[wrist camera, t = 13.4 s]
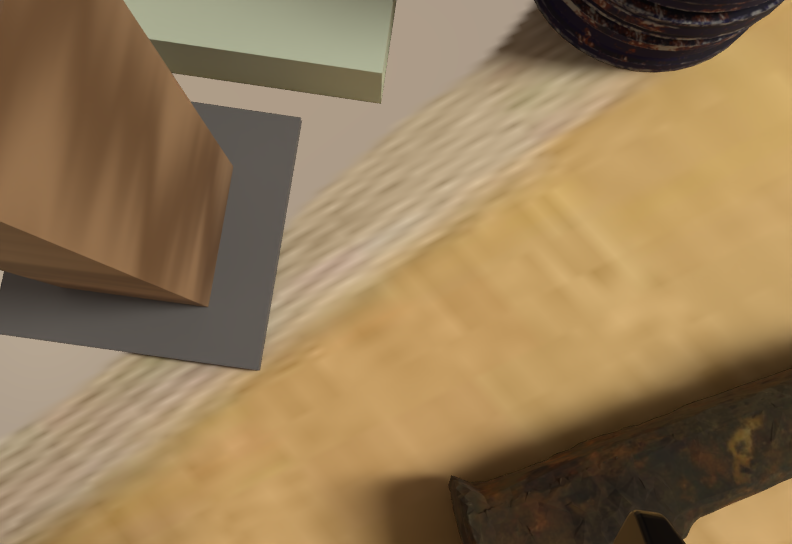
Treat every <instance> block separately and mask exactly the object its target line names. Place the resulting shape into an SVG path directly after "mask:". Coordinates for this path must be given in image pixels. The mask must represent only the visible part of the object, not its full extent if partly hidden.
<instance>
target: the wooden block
mask: <svg viewBox="0 0 792 544" xmlns="http://www.w3.org/2000/svg"><path fill="white" fill-rule="evenodd" d="M232 171H233V165H232V164H231V162H230V161H229V159H228V158H227V156H226V155H225V153H224V152H223V150H222V149H221V147H220V146H219V144H218V143H217V141H216V140H215V138H214V137H213V135H212V134H211V132H210V131H209V129H208V128H207V126H206V125H205V123H204V122H203V120H202V119H201V117H200V115H199V114H198V112H197V111H196V109H195V108H194V106H193V105H192V103H191V102H190V100H189V99H188V97H187V96H186V94H185V93H184V91H183V90H182V88H181V87H180V85H179V84H178V82H177V81H176V79H175V78H174V76H173V75H172V73H171V72H170V70H169V69H168V67H167V66H166V64H165V63H164V61H163V60H162V58H161V56H160V55H159V53H158V52H157V50H156V49H155V47H154V46H153V44H152V43H151V41H150V40H149V38H148V37H147V35H146V34H145V32H144V31H143V29H142V28H141V26H140V25H139V23H138V22H137V20H136V19H135V17H134V16H133V14H132V13H131V11H130V10H129V8H128V7H127V5H126V4H125V2H124V1H123V0H0V270H2V271H5V272H9V273H12V274H16V275H19V276H23V277H27V278H30V279H34V280H37V281H41V282H44V283H48V284H51V285H55V286H59V287H63V288H71V289H78V290H85V291H93V292H100V293H107V294H115V295H122V296H129V297H137V298H144V299H151V300H159V301H166V302H174V303H181V304H188V305H196V306H203V307H208V306H209V301H210V295H211V289H212V284H213V278H214V273H215V267H216V261H217V256H218V250H219V244H220V239H221V233H222V228H223V222H224V216H225V211H226V205H227V199H228V194H229V188H230V182H231V177H232Z"/></svg>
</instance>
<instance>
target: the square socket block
mask: <svg viewBox="0 0 792 544" xmlns="http://www.w3.org/2000/svg"><path fill="white" fill-rule="evenodd" d="M123 1H124V2H125V4H126V5H127V7H128V8H129V10H130V11H131V13H132V14H133V16H134V17H135V19H136V20H137V22H138V23H139V25H140V26H141V28H142V29H143V31H144V32H145V34H146V35H147V37H148V38H149V40H150V41H151V43H152V44H153V46H154V47H155V49H156V50H157V52H158V53H159V55H160V56H161V58H162V60H163V61H164V63H165V64H166V66H167V67H168V69H169V70H170V72H171V73H176V74H183V75H189V76H197V77H203V78H210V79H217V80H224V81H231V82H237V83H244V84H251V85H258V86H265V87H271V88H278V89H285V90H291V91H299V92H305V93H312V94H319V95H325V96H332V97H339V98H346V99H353V100H360V101H366V102H373V103H380V104H381V100H382V92H383V87H384V79H385V73H386V66H387V59H388V53H389V46H390V40H391V33H392V26H393V20H394V13H395V6H396V0H123Z"/></svg>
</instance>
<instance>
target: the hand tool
mask: <svg viewBox="0 0 792 544" xmlns="http://www.w3.org/2000/svg"><path fill="white" fill-rule="evenodd" d="M790 478H792V368H791V369H788V370H785V371H782V372H780V373H777V374H774V375H771V376H768V377H765V378H763V379H760V380H757V381H754V382H750V383H747V384H744V385H742V386H739V387H736V388H734V389H731V390H728V391H726V392H723V393H720V394H718V395H715V396H712V397H709V398H705V399H702V400H699V401H696V402H693V403H691V404H688V405H686V406H683V407H681V408H679V409H677V410H675V411H673V412H671V413H669V414H667V415H664V416H661V417H658V418H655V419H652V420H649V421H647V422H645V423H643V424H640V425H637V426H631V427H625V428H623V429H621V430H620V431H617V432H613V433H609V434H605V435H602V436H599V437H596V438H593V439H590V440H588V441H585V442H582V443H580V444H578V445H577V446H575V447H573V448H572V449H570V450H567V451H564V452H561V453H558V454H555V455H554V456H552V457H551V458H549V459H548V460H546V461H543V462H540V463H537V464H534V465H531V466H529V467H526V468H524V469H522V470H519V471H517V472H514V473H510V474H507V475H504V476H501V477H498V478H495V479H493V480H490V481H485V482H471V483H470V482H467V481H465V480H462V479H460V478H458V477H455V476H451V478H450V481H449V485H448V486H449V489H450V491H451V498H452V504H453V510H454V514H455V518H456V521H457V525H458V529H459V533H460V536H461V540H462V543H463V544H613V542H614V540H615V538H616V536H617V534H618V532H619V531H620V529H621V527H622V525H623V524H624V522H625V520H626V518H627V516H628V515H629V513H630V512H632V511H634V510H641V511H649V512H656V513H659V514H661V515H663V516H664V517H665V518H667V520H668V521H669V522H670V523H671V525H672V526H673V527H674V529H675V530H676V531H677V533H678V534H679V535H680V537H681V538H682V539H684V538H686V537H687V535H688V533H689V530H690V528H691V526H692V525H693V523H694V522H695V521H696V520H697V519H698V518H700V517H702V516H705V515H707V514H710V513H712V512H714V511H716V510H719V509H721V508H723V507H725V506H728V505H730V504H732V503H734V502H737V501H739V500H742V499H744V498H747V497H750V496H752V495H754V494H757V493H759V492H761V491H764V490H766V489H768V488H770V487H772V486H774V485H776V484H778V483H780V482H783V481H785V480H788V479H790Z"/></svg>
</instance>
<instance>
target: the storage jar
mask: <svg viewBox="0 0 792 544" xmlns="http://www.w3.org/2000/svg"><path fill="white" fill-rule="evenodd" d="M534 1H535V3H536V5H537V7H538V8H539V10H540V11H541V13H542V14H543V15H544V17H545V18H546V20H547V21H548V22H549V24H550V25H551V26H552V27H553V28H554V29H555V30H556V31H557V32H558V33H559V34H560V35H561V36H562V37H563V38H564V39H566V40H567V41H568V42H569V43H571V44H572V45H573V46H575V47H576V48H577V49H579V50H580V51H582V52H584V53H586V54H588V55H589V56H591V57H593V58H595V59H597V60H599V61H602V62H605V63H607V64H610V65H613V66H615V67H619V68H624V69H629V70H633V71H643V72H664V71H675V70H679V69H683V68H687V67H691V66H695V65H697V64H699V63H702V62H704V61H706V60H709V59H711V58H713V57H714V56H716V55H717V54H719V53H721V52H722V51H724V50H725V49H727V48H728V47H729V46H730V45H731V44H732V43H733V42H734V41H735V40H737V39H738V38H739V37H740V36H741V35H742V34H743V33H744V32H745V31H746V30H748V28H749V27H751V26H752V25H753V24H754V23H756V22H757V21H759V20H760V19H762V18H764V17H765V16H767V15H768V14H770V13H771V12H772V11H773V10H774V9H775V8H776V7H778V6H779V5H780V4H781V3H782V2H783V1H784V0H534Z"/></svg>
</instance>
